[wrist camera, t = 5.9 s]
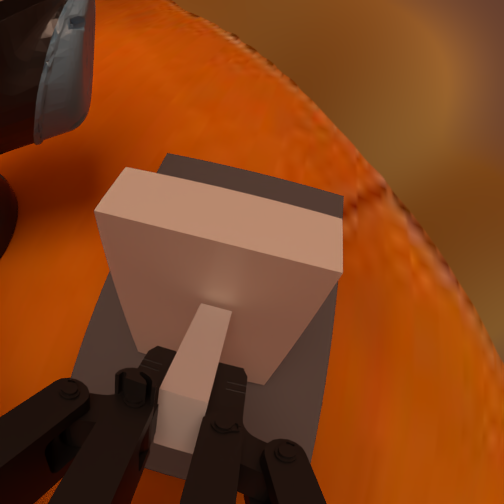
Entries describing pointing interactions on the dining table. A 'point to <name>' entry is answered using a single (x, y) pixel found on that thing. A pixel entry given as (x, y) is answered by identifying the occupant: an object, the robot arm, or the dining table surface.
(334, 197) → the mat
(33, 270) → the dining table surface
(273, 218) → the tile
